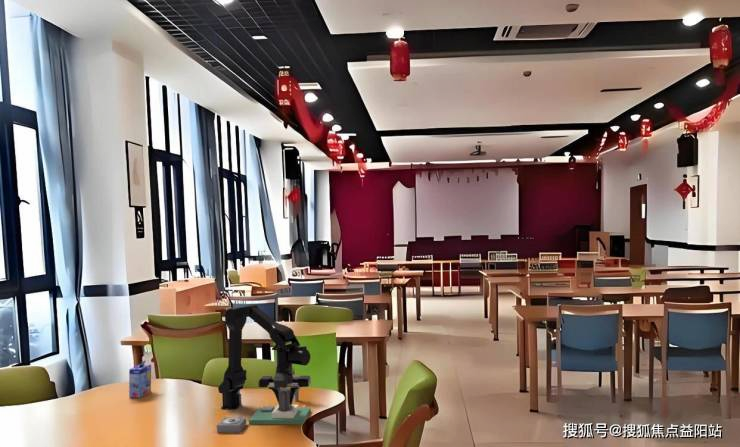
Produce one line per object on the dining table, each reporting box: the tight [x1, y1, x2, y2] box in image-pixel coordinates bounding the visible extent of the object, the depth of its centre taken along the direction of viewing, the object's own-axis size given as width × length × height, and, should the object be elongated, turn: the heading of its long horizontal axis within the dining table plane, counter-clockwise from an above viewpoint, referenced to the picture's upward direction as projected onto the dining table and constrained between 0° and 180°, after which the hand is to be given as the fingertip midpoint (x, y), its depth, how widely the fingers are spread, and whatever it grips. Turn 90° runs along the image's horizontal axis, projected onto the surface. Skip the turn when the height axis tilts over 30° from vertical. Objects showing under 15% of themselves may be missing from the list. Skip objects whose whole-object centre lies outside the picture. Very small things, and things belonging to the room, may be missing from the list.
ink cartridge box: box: [128, 359, 152, 398], centre depth 242 cm, size 10×6×14 cm, turn 175°
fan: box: [216, 416, 247, 434], centre depth 197 cm, size 8×8×3 cm
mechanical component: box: [288, 374, 301, 402], centre depth 227 cm, size 3×10×10 cm, turn 53°
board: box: [248, 404, 311, 425], centre depth 207 cm, size 20×14×4 cm
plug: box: [278, 387, 293, 412], centre depth 206 cm, size 4×5×8 cm
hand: (285, 404), depth 207 cm, fingers closed on plug, 4 cm apart
